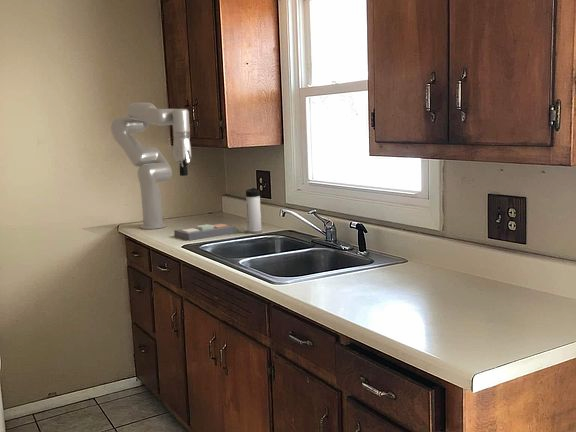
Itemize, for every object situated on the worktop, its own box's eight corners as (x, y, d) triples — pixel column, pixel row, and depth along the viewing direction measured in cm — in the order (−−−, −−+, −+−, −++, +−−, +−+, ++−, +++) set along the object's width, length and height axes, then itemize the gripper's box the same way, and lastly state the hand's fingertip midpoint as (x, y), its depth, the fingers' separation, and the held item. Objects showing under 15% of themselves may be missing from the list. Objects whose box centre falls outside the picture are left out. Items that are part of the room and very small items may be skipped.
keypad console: (174, 236, 295) (174, 230, 295) (220, 229, 309) (219, 223, 309) (189, 240, 284) (188, 233, 284) (236, 233, 298) (235, 226, 298)
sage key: (196, 231, 297) (195, 226, 297) (207, 229, 300) (207, 224, 300) (202, 232, 292) (202, 227, 292) (214, 230, 296) (213, 225, 295)
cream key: (181, 235, 293) (181, 230, 292) (193, 233, 296) (192, 228, 296) (187, 236, 288) (187, 231, 287) (199, 234, 291) (199, 229, 291)
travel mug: (262, 230, 301) (260, 187, 298) (260, 233, 295) (258, 189, 292) (249, 231, 302) (246, 188, 299) (246, 233, 295) (244, 189, 292)
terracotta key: (210, 230, 302) (210, 225, 301) (222, 228, 305) (221, 223, 305) (217, 232, 297) (217, 227, 296) (228, 230, 300) (228, 225, 300)
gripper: (167, 136, 305) (169, 175, 307) (181, 136, 293) (184, 177, 296) (181, 135, 309) (183, 173, 312) (196, 135, 297) (198, 175, 300)
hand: (183, 175), depth 304 cm, fingers closed
